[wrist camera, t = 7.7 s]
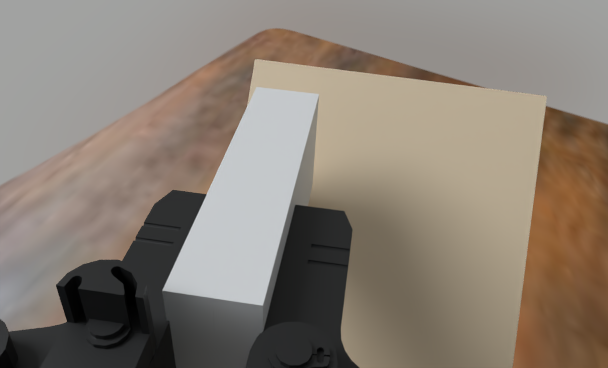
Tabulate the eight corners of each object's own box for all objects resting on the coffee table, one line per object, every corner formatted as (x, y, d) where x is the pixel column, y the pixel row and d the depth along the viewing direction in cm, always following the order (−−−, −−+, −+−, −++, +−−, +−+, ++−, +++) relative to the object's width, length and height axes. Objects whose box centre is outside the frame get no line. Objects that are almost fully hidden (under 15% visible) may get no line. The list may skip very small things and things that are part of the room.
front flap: (507, 407, 14) (503, 402, 15) (546, 96, 15) (542, 99, 15) (206, 351, 15) (210, 348, 16) (254, 59, 16) (257, 63, 16)
